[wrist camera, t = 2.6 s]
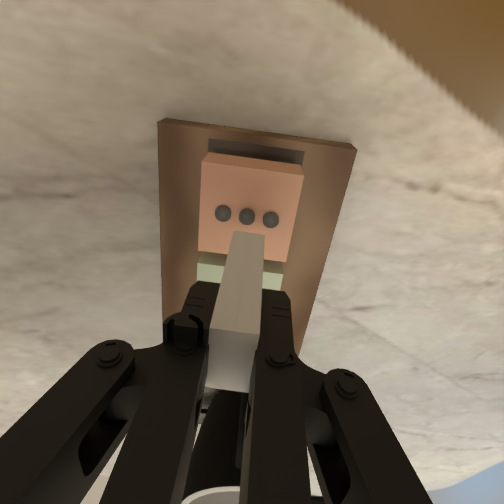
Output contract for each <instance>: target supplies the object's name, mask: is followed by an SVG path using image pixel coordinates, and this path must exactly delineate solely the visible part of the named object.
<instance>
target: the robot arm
mask: <svg viewBox="0 0 504 504" xmlns="http://www.w3.org/2000/svg"><path fill="white" fill-rule="evenodd" d="M264 243H265V235H264V234H257V233H250V232H242V231H235V230H234V232H233V236H232V240H231V244H230V248H229V252H228V256H227V260H226V264H225V268H224V272H223V276H222V280H221V283H214V282H207V281H199V280H198V281H197V282H196V283H195V284H193V285H192V286H191V287H190V289H189V292H188V294H187V298H186V299H185V302H184V305H183V307H182V310H181V312H178V313H174V314H172V315H171V316H169V317H167V318H166V320H165V321H164V322H163V343H162V344H159V345H157V346H154V347H150V348H144V349H136V350H134V349H133V348H132V346H131V344H129V343H127V342H125V341H122V340H116V339H115V340H107V341H104V342H102V343H99V344H97V345H96V346H94V347H93V348H91V349H90V350H89V351H88V352H87V353H86V354H85V355H84V356H83V357H82V358H81V359H80V360H79V361H78V362H77V363H76V364H75V365H74V366H73V367H72V368H71V369H70V370H69V371H68V372H67V373H66V374H65V375H64V376H63V377H62V378H60V379H59V380H58V381H57V382H56V383H55V384H54V385H53V386H52V387H51V388H50V389H49V390H48V391H47V392H46V393H45V394H44V395H43V396H42V397H41V398H40V399H39V400H38V401H37V402H36V403H35V404H34V405H33V406H32V407H31V408H30V409H29V410H28V411H27V412H26V413H25V414H24V415H23V416H22V417H21V418H20V419H19V420H18V421H17V422H16V423H15V424H14V425H13V426H12V427H11V428H10V429H9V430H8V431H7V432H6V433H5V434H4V435H3V436H2V437H1V438H0V504H80V503H81V501H82V500H83V498H84V497H85V495H86V494H87V492H88V491H89V489H90V488H91V486H92V485H93V483H94V482H95V480H96V479H97V477H98V476H99V474H100V473H101V471H102V470H103V468H104V467H105V465H106V464H107V462H108V461H109V459H110V458H111V456H112V455H113V453H114V452H115V450H116V449H117V447H118V446H119V444H120V443H121V441H122V440H123V438H124V437H125V435H126V434H127V435H126V438H125V440H124V443H123V445H122V448H121V450H120V453H119V455H118V457H117V460H116V462H115V465H114V467H113V470H112V472H111V475H110V477H109V480H108V482H107V485H106V487H105V490H104V492H103V495H102V498H101V500H100V502H99V504H181V503H182V498H183V493H184V488H185V484H186V479H187V474H188V469H189V465H190V460H191V455H192V450H193V446H194V441H195V436H196V431H197V427H198V422H199V417H200V412H201V408H202V403H203V392H204V387H208V388H216V389H223V390H231V391H238V392H246V393H249V398H248V404H247V409H246V414H245V419H244V423H245V433H244V445H243V457H242V469H241V482H240V494H239V504H312V502H311V490H310V479H309V467H308V455H307V447H308V451H309V454H310V457H311V460H312V463H313V467H314V470H315V473H316V476H317V480H318V483H319V486H320V489H321V492H322V496H323V499H324V502H325V504H433V503H432V501H431V499H430V498H429V496H428V494H427V492H426V490H425V488H424V487H423V485H422V483H421V481H420V479H419V478H418V476H417V474H416V472H415V470H414V469H413V467H412V465H411V463H410V461H409V460H408V458H407V456H406V454H405V452H404V451H403V449H402V447H401V445H400V443H399V442H398V440H397V438H396V436H395V434H394V432H393V431H392V429H391V427H390V425H389V423H388V422H387V420H386V418H385V416H384V414H383V413H382V411H381V409H380V407H379V405H378V404H377V402H376V400H375V398H374V396H373V395H372V393H371V391H370V389H369V387H368V386H367V384H366V383H365V382H364V380H363V379H362V378H361V377H359V376H358V375H357V374H355V373H354V372H351V371H349V370H346V369H338V368H337V369H333V370H330V371H329V372H328V373H327V374H324V373H321V372H319V371H317V370H314V369H312V368H310V367H308V366H307V365H305V364H304V363H303V362H302V361H301V360H300V359H299V358H298V356H297V354H296V353H295V349H294V339H293V325H292V312H291V300H290V298H289V297H288V295H287V294H286V292H285V291H279V290H271V289H264V288H262V281H263V262H264ZM127 432H128V433H127Z"/></svg>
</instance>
